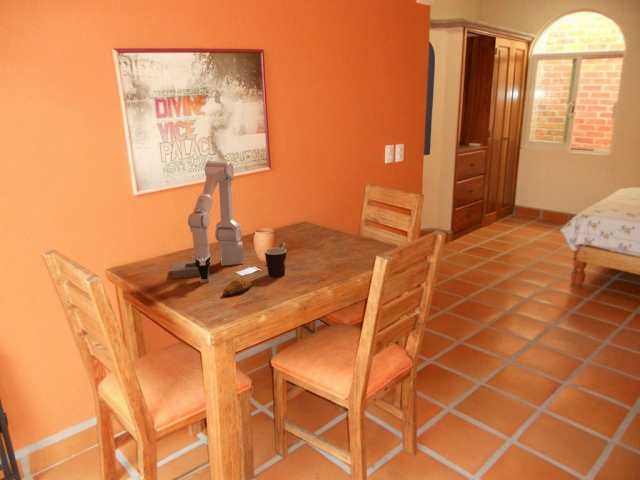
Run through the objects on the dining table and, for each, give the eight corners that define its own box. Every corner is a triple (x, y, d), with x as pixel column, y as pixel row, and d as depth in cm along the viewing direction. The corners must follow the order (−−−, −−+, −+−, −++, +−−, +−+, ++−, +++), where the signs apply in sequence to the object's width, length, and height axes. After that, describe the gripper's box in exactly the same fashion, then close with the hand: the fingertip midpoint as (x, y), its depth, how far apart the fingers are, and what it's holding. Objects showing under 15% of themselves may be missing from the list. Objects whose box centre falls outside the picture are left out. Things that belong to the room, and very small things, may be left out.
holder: (209, 266, 203) (208, 259, 202) (209, 274, 193) (209, 267, 192) (174, 269, 200) (173, 262, 199) (173, 278, 190) (172, 271, 189)
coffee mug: (278, 280, 186) (277, 255, 183) (261, 276, 190) (259, 252, 188) (296, 271, 195) (295, 247, 193) (279, 267, 200) (277, 244, 197)
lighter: (272, 264, 204) (271, 246, 202) (270, 263, 206) (269, 245, 203) (286, 260, 209) (285, 242, 207) (283, 259, 210) (282, 241, 208)
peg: (208, 279, 188) (207, 264, 187) (209, 282, 185) (207, 267, 184) (200, 280, 188) (199, 265, 186) (200, 283, 185) (199, 268, 183)
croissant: (230, 300, 169) (228, 287, 168) (217, 295, 173) (216, 282, 172) (258, 288, 179) (257, 276, 178) (246, 284, 183) (245, 272, 182)
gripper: (190, 239, 188) (193, 272, 192) (189, 250, 175) (193, 285, 178) (209, 237, 190) (212, 270, 194) (209, 248, 176) (212, 283, 180)
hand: (204, 277), depth 186 cm, fingers closed on peg, 3 cm apart
